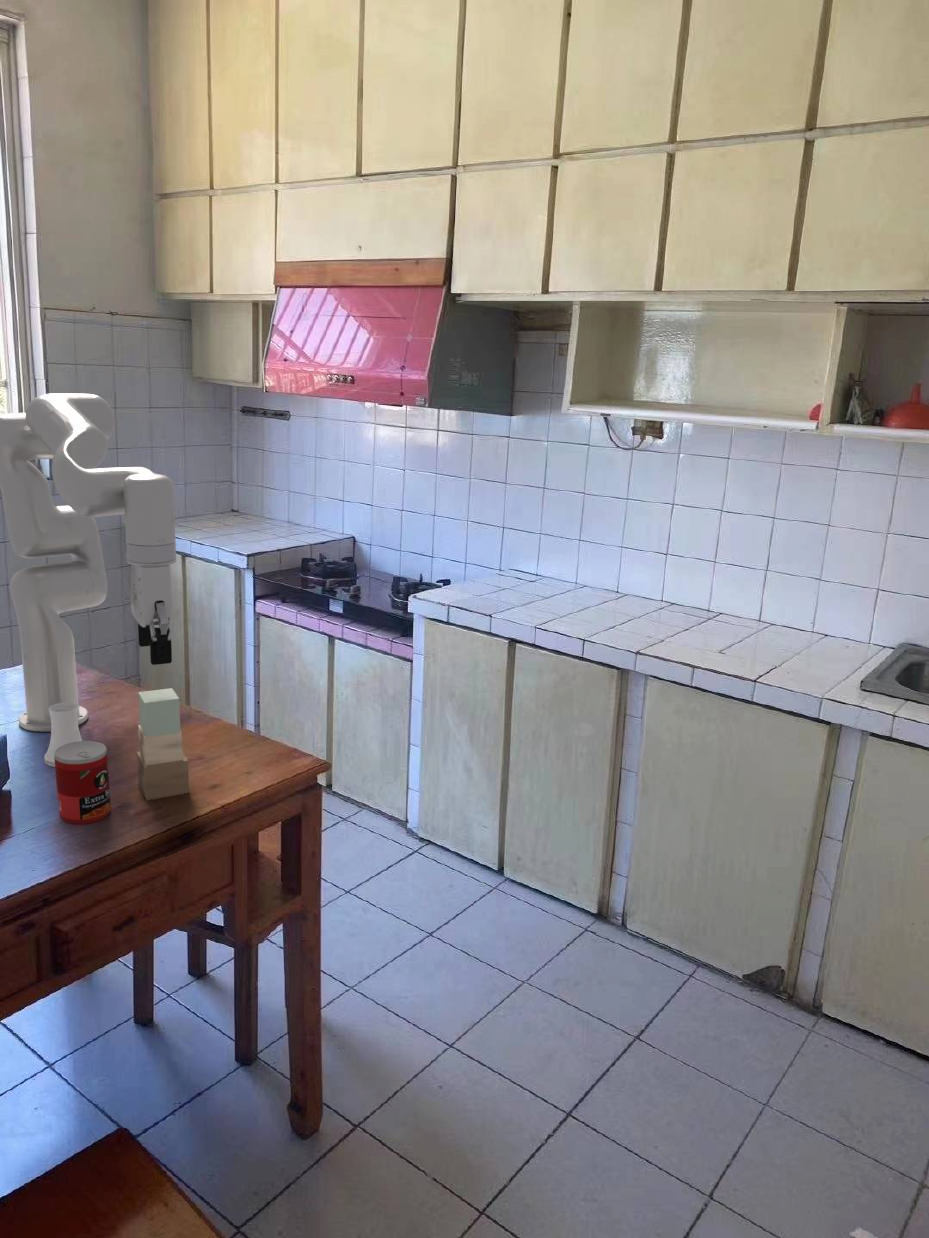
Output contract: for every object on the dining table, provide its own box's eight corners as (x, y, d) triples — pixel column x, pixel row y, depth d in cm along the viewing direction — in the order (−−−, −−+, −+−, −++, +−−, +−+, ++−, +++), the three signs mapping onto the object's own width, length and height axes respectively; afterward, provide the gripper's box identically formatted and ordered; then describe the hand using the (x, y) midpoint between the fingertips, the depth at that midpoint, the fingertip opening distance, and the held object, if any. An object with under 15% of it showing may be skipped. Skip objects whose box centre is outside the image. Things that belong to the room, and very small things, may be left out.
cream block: (138, 783, 159) (136, 751, 157) (179, 776, 162) (178, 745, 161) (146, 800, 153) (144, 767, 151) (189, 792, 156) (187, 760, 155)
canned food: (87, 829, 143) (82, 763, 140) (47, 818, 146) (42, 754, 143) (122, 808, 150) (118, 746, 147) (83, 798, 153) (78, 737, 150)
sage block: (140, 725, 155) (138, 692, 154) (173, 720, 158) (172, 688, 156) (146, 737, 151) (144, 703, 149) (180, 732, 153) (179, 698, 152)
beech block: (139, 752, 157) (138, 724, 156) (175, 746, 160) (174, 719, 158) (145, 765, 152) (144, 737, 151) (182, 760, 155) (181, 732, 153)
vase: (48, 770, 162) (44, 717, 159) (41, 755, 168) (36, 703, 165) (93, 762, 166) (90, 710, 163) (84, 747, 172) (81, 697, 170)
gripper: (116, 542, 152) (121, 641, 157) (137, 566, 138) (141, 673, 142) (163, 540, 156) (166, 636, 160) (188, 563, 141) (190, 668, 146)
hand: (154, 654), depth 151 cm, fingers open, 9 cm apart
